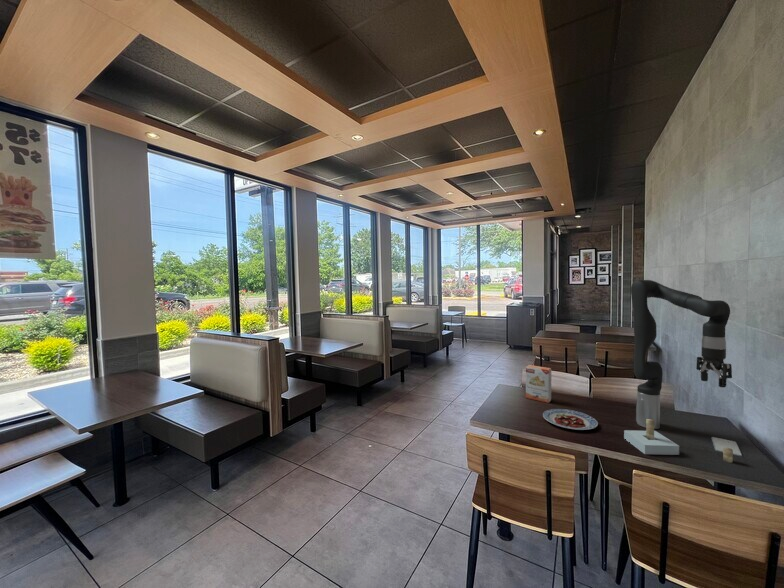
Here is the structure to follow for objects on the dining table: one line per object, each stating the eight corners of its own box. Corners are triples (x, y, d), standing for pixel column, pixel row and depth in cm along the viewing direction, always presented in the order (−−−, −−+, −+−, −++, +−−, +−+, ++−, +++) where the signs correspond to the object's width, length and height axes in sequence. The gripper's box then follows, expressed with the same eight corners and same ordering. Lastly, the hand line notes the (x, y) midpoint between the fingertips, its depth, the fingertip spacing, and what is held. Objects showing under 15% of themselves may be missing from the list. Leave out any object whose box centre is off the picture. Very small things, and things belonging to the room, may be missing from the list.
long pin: (644, 444, 149) (644, 418, 149) (650, 444, 149) (651, 418, 149) (648, 447, 146) (649, 421, 146) (655, 447, 146) (655, 421, 146)
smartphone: (715, 449, 143) (711, 436, 155) (715, 451, 143) (711, 438, 155) (742, 455, 138) (736, 441, 149) (742, 458, 138) (736, 443, 149)
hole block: (624, 438, 155) (624, 430, 155) (655, 439, 154) (655, 430, 154) (644, 454, 141) (644, 445, 141) (679, 454, 140) (679, 445, 140)
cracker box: (525, 398, 210) (525, 366, 209) (528, 395, 214) (528, 364, 214) (548, 403, 201) (548, 369, 200) (551, 400, 205) (551, 367, 204)
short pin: (721, 458, 137) (721, 447, 136) (728, 459, 136) (728, 447, 136) (727, 462, 134) (727, 450, 134) (734, 462, 134) (734, 450, 133)
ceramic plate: (606, 435, 159) (606, 429, 159) (550, 431, 164) (550, 425, 164) (586, 414, 184) (586, 409, 184) (537, 411, 189) (537, 406, 189)
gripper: (690, 343, 148) (690, 379, 148) (719, 350, 134) (718, 389, 134) (708, 343, 147) (708, 379, 148) (739, 350, 133) (738, 389, 133)
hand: (713, 384), depth 141 cm, fingers open, 8 cm apart
